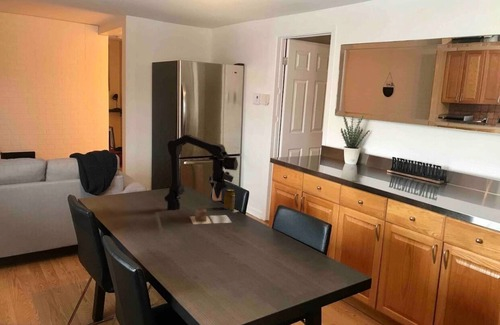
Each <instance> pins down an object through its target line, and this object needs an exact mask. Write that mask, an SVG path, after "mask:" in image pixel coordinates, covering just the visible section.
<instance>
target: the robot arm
mask: <svg viewBox="0 0 500 325" xmlns="http://www.w3.org/2000/svg"><path fill="white" fill-rule="evenodd" d="M186 144H190V145H192V146H195V147H198V148H200V149H202V150H205V151H207V152H208V153H209V154H210V157H208V160H212V164H211V167H212V168H211V169H210V171H211V175H208V176H207V181H208V182H209V184H210V187H211V189H212V188H214V192H215V195H216V198H219V196H220V193H221V190H222V191H223V189H228V183H227V182H229V183H233V180H234V177H235V176H233V174H230V172H229V171H237V169H238V166H239V162H238V158H237V157H236V156H230V155H229V154H228V152H227V150H226V147H225V145H224V144H221V143H216V142H215V143H213V142H209V141H206V140H204V139H201V138H199V137H196V136H194V135H192V134H190V133H188V134H184V135H183V136H181V137H178V138H176V139H171V140H169V141H168V142H167V144H166V146H167V152H168V154H169V155H170V169H171V170H170V172H171V173H170V174H171V175H170V176H171V178H170V179H171V182H170V186H169V188H168V193H167V194H166V195H165V196H164V201H165V202H166V208H165V210H169V211H178V210H180V208H181V204H180V199H181V197H182V196H183V195H184V192H185V184H182V182H181V158H180V157H181V154H182V151H183V146H186ZM224 169H225V170H229V171H224ZM226 181H227V182H226Z"/></svg>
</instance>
